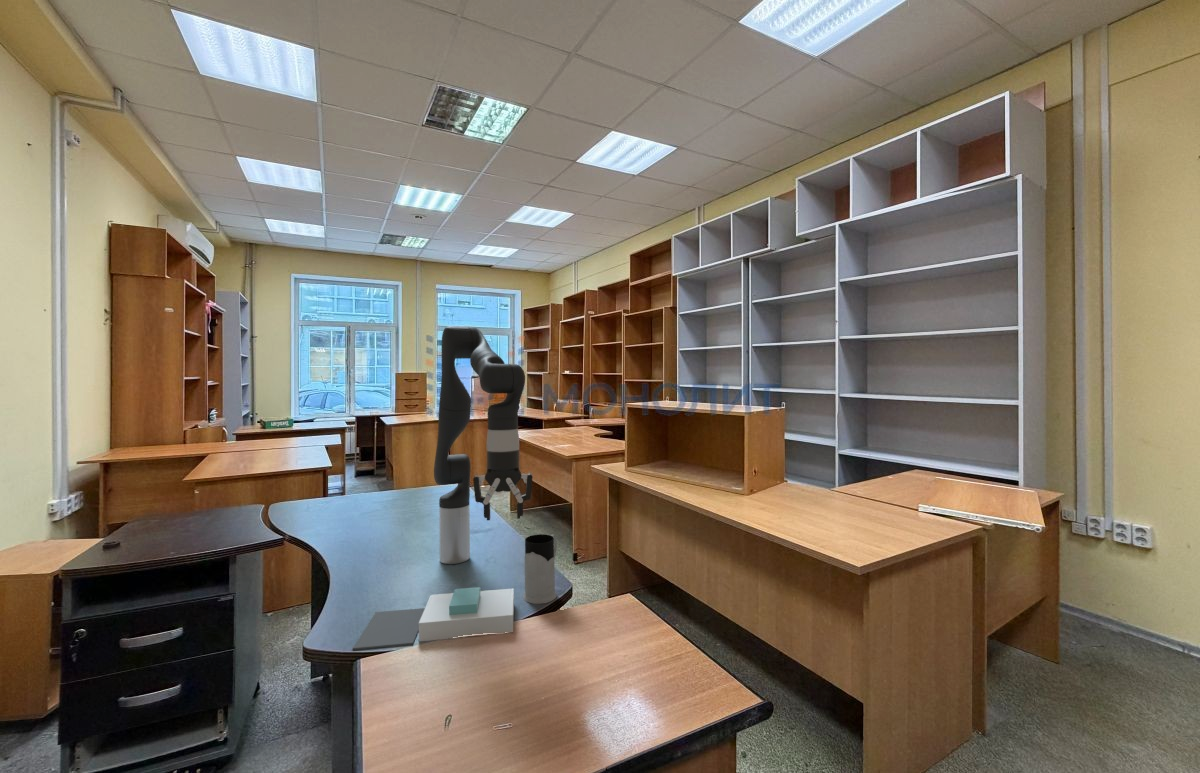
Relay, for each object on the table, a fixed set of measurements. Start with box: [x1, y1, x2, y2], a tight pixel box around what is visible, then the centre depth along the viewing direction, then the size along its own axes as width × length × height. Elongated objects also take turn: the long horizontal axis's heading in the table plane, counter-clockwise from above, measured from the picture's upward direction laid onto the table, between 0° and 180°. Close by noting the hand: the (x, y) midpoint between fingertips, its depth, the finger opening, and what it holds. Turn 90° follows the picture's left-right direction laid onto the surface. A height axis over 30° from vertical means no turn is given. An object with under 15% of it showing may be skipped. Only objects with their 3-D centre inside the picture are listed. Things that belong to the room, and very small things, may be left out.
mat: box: [352, 607, 425, 651], centre depth 108 cm, size 16×12×1 cm
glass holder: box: [522, 533, 558, 605], centre depth 126 cm, size 9×14×15 cm, turn 160°
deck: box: [418, 588, 515, 642], centre depth 110 cm, size 14×20×4 cm
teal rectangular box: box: [449, 586, 481, 615], centre depth 110 cm, size 9×6×2 cm, turn 9°
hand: (503, 518), depth 112 cm, fingers open, 6 cm apart
